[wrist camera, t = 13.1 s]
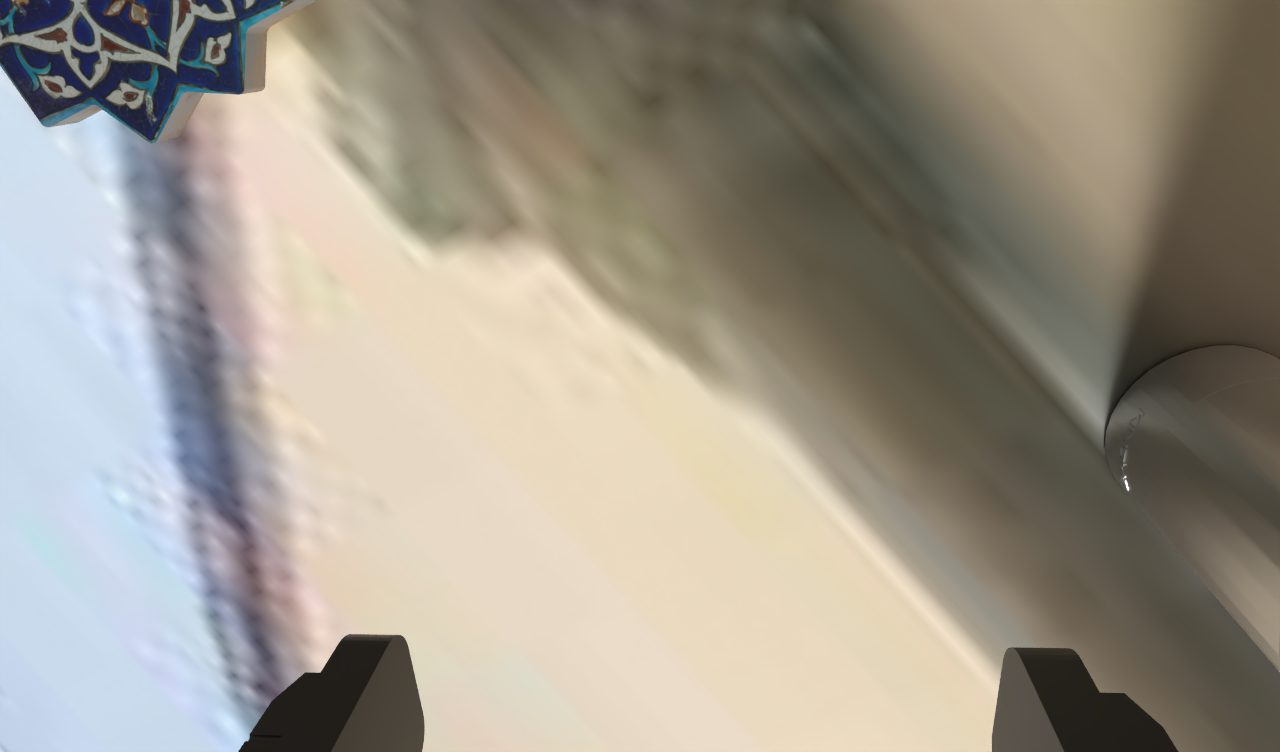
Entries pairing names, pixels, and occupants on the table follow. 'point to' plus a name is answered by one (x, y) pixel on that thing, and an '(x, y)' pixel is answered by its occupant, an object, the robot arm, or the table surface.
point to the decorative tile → (135, 56)
